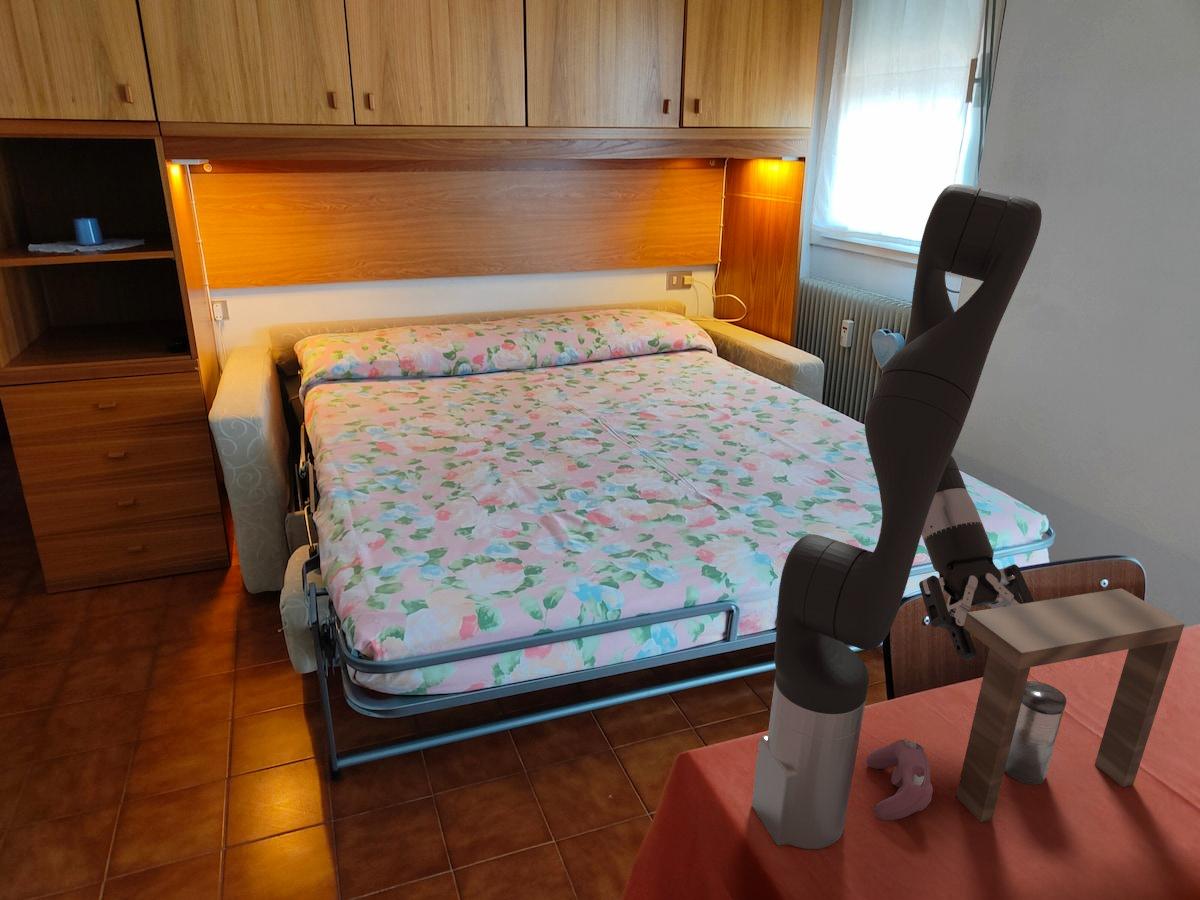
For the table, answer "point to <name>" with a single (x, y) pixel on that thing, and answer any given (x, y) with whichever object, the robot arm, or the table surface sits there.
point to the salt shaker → (1035, 733)
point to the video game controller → (903, 778)
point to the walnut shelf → (1059, 637)
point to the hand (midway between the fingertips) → (998, 653)
